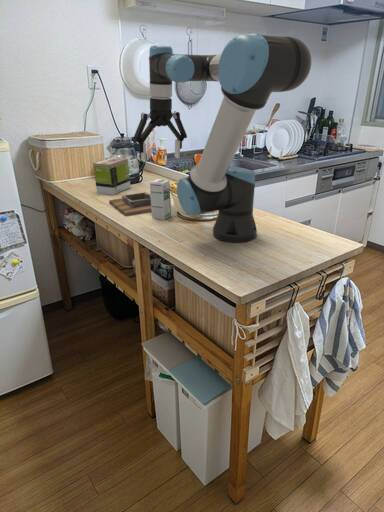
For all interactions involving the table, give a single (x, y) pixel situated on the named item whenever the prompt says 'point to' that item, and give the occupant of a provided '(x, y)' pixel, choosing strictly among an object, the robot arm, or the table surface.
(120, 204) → the wooden tray on board
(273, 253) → the table surface
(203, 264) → the table surface
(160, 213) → the syrup box
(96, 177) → the tea box
